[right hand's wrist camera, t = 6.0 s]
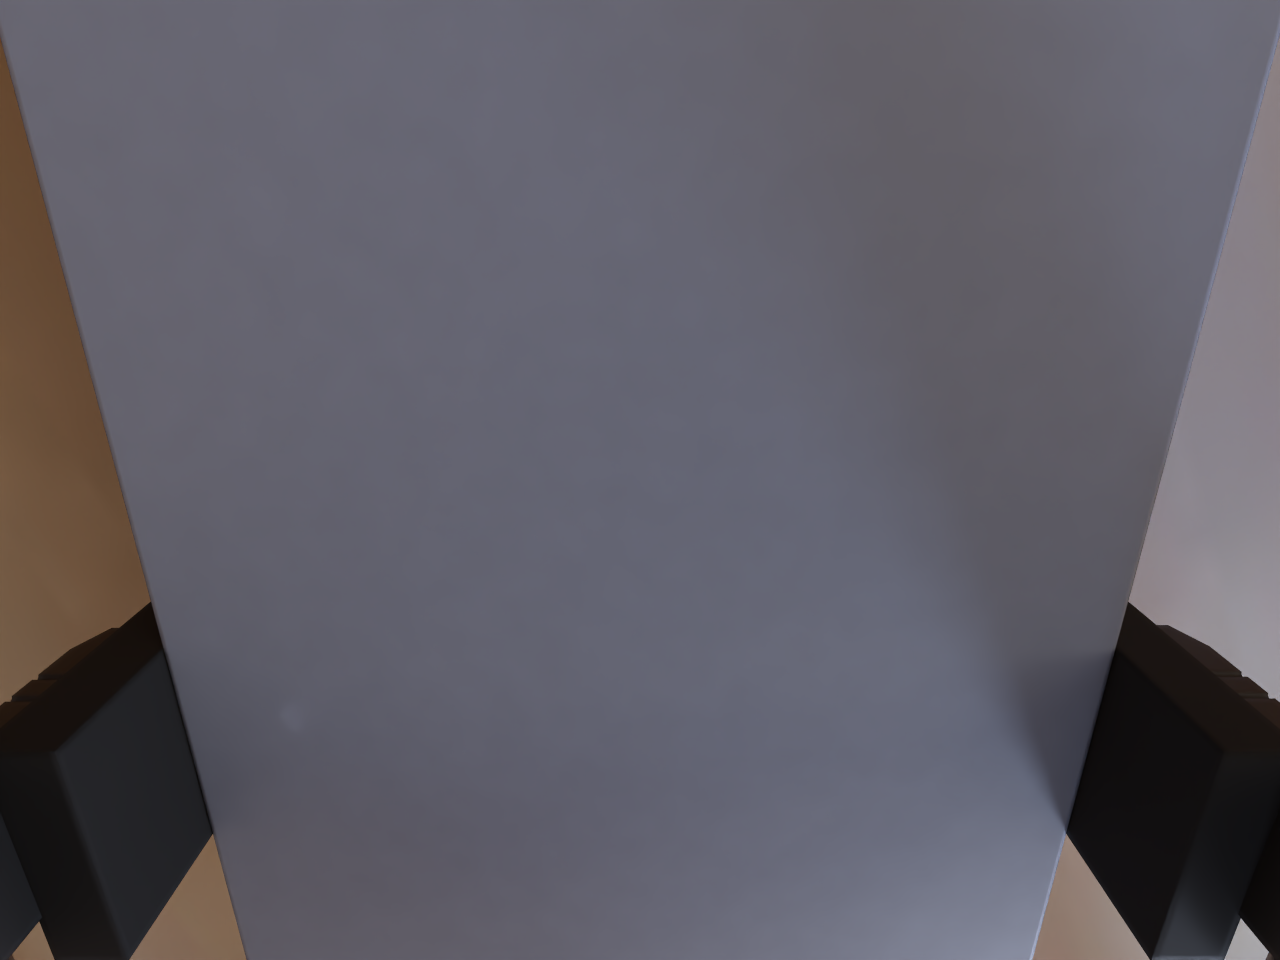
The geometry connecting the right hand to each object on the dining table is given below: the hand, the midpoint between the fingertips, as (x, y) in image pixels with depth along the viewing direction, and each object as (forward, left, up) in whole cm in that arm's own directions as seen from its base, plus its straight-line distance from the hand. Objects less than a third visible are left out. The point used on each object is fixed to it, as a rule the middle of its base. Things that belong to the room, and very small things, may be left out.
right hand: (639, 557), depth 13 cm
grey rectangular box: (+2, +5, -5) cm, 7 cm away
